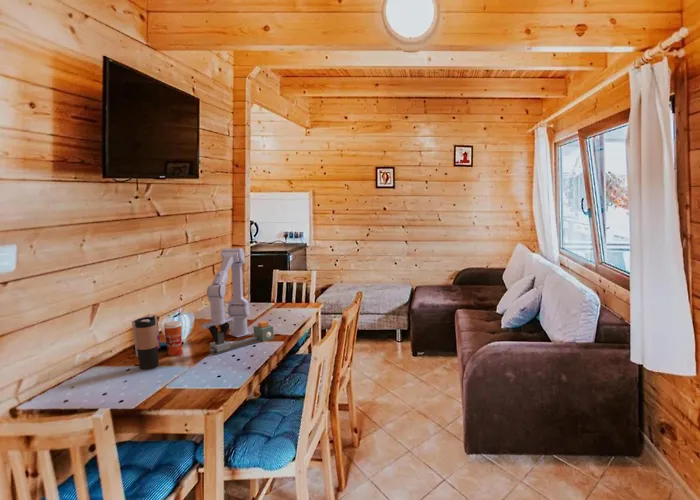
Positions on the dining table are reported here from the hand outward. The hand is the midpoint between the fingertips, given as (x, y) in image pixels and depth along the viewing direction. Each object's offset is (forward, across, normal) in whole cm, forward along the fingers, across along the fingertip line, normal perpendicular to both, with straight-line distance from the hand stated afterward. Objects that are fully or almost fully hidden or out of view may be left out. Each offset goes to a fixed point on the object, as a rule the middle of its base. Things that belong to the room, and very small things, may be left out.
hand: (219, 341), depth 193 cm
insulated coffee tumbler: (+5, -23, +23) cm, 33 cm away
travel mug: (+5, -29, +5) cm, 30 cm away
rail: (+5, +8, 0) cm, 9 cm away
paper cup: (+5, -15, +13) cm, 20 cm away
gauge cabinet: (+5, +23, 0) cm, 23 cm away
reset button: (0, +23, 0) cm, 23 cm away
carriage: (+3, 0, 0) cm, 3 cm away
